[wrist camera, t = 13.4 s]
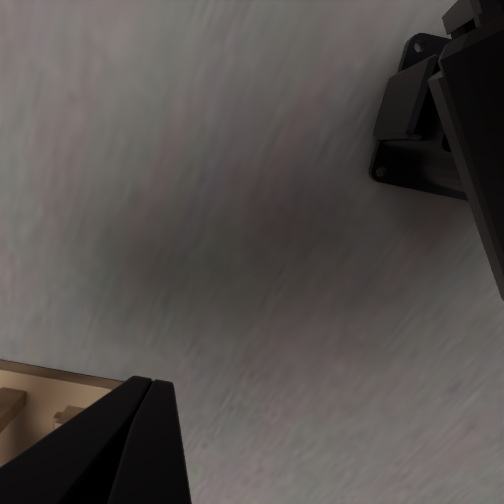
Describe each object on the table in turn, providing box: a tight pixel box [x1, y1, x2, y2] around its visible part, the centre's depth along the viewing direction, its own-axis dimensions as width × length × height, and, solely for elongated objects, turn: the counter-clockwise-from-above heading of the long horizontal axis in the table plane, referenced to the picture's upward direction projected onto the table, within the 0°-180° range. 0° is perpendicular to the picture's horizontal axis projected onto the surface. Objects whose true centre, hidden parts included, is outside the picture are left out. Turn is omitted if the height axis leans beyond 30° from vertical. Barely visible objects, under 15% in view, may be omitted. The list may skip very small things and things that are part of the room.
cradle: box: [0, 360, 123, 467], centre depth 20 cm, size 15×10×5 cm, turn 79°
